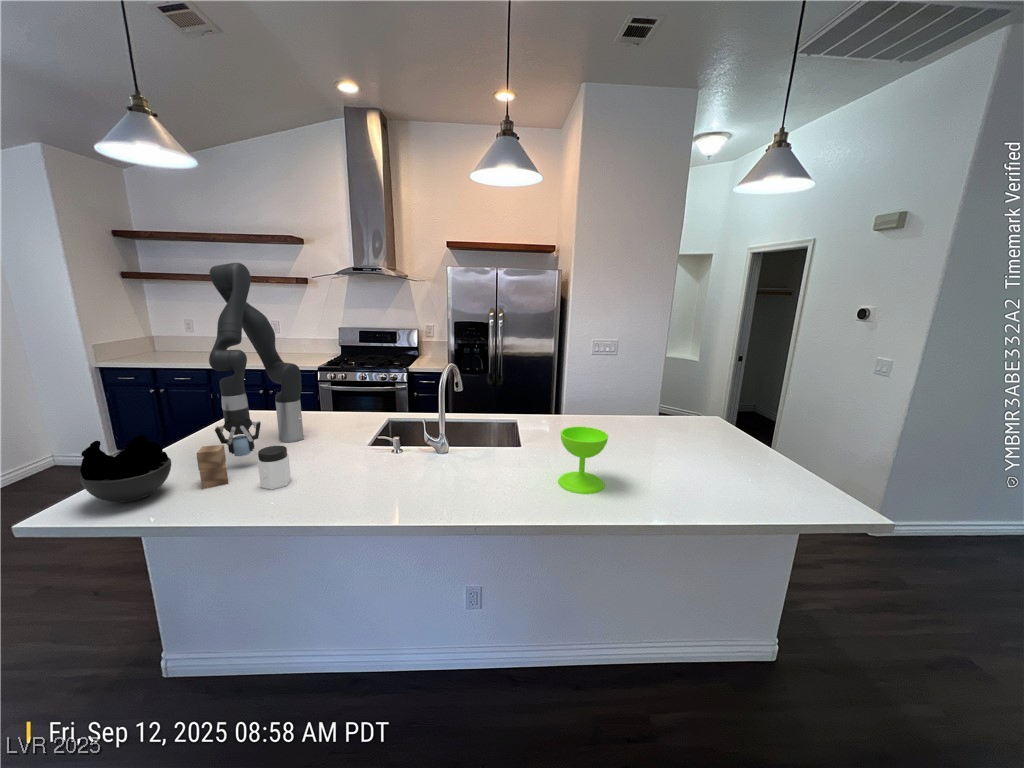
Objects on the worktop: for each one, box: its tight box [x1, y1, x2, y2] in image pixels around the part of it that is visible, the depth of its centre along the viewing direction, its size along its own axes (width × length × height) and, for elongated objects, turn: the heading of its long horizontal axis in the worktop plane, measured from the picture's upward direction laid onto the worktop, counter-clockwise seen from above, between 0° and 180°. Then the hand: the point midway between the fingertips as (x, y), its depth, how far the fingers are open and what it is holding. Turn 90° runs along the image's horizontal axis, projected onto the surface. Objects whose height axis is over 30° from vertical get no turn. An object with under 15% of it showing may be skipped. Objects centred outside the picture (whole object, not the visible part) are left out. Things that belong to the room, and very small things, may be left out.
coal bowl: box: [79, 434, 172, 504], centre depth 123 cm, size 20×20×19 cm
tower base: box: [199, 461, 229, 490], centre depth 136 cm, size 7×7×6 cm
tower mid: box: [196, 444, 227, 472], centre depth 135 cm, size 6×6×6 cm
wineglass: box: [557, 426, 609, 495], centre depth 141 cm, size 16×16×18 cm
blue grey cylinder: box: [232, 434, 252, 457], centre depth 147 cm, size 5×5×6 cm
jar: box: [257, 445, 292, 491], centre depth 135 cm, size 9×8×12 cm
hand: (242, 451), depth 148 cm, fingers closed on blue grey cylinder, 5 cm apart
